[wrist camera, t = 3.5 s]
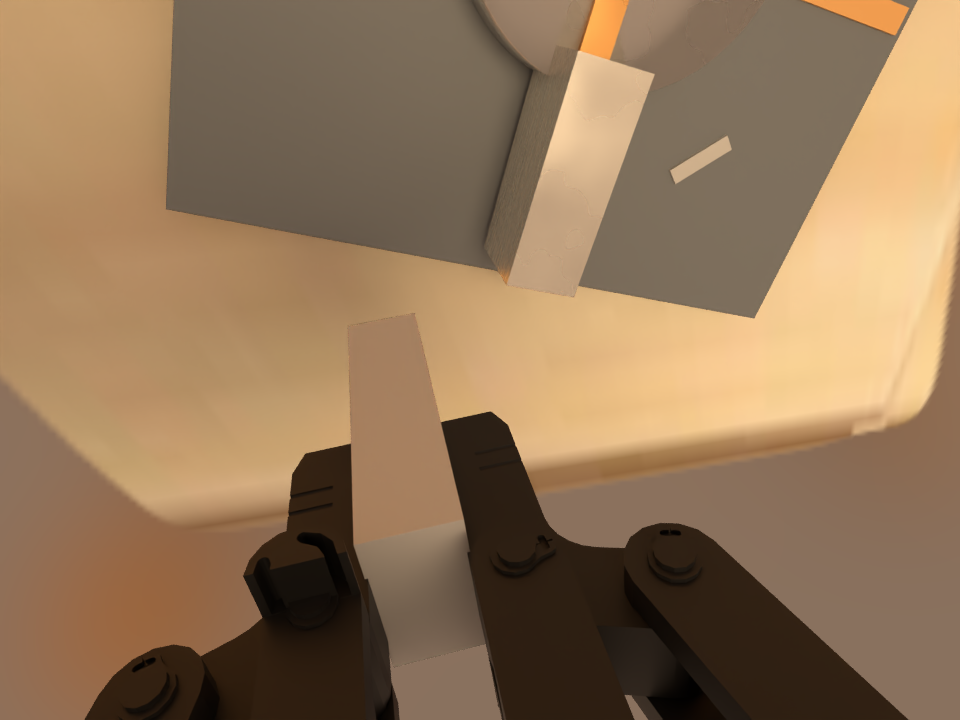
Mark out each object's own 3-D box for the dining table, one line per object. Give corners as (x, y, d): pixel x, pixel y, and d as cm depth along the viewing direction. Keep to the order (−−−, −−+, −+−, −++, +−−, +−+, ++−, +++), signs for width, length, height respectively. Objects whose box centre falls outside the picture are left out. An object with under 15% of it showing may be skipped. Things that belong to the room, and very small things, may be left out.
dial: (505, -406, 15) (555, -518, 12) (826, -234, 18) (938, -286, 15) (381, 223, 22) (389, 263, 19) (626, 271, 25) (671, 314, 22)
